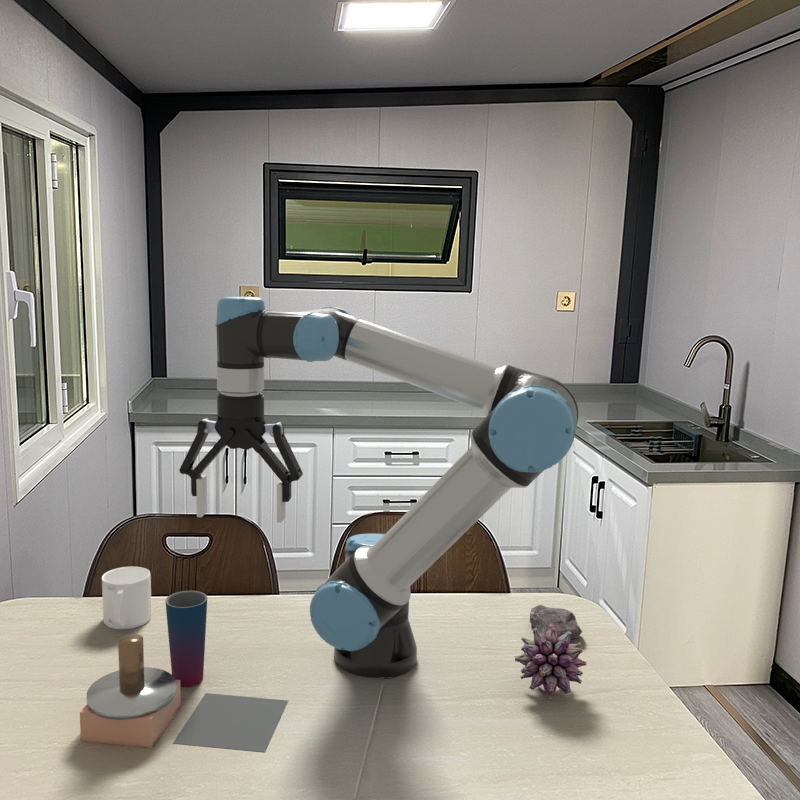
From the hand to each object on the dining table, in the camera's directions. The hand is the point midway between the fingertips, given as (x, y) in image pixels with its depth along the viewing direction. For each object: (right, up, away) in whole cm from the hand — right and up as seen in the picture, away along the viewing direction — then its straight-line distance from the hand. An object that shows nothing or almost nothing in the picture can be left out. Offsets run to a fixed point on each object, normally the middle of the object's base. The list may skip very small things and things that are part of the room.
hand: (241, 517), depth 133 cm
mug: (-28, -24, +23) cm, 44 cm away
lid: (-14, -26, -11) cm, 32 cm away
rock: (+57, -27, +25) cm, 68 cm away
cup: (-10, -29, +3) cm, 30 cm away
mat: (+1, -31, -9) cm, 32 cm away
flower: (+52, -31, +3) cm, 60 cm away
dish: (-15, -31, -10) cm, 35 cm away
